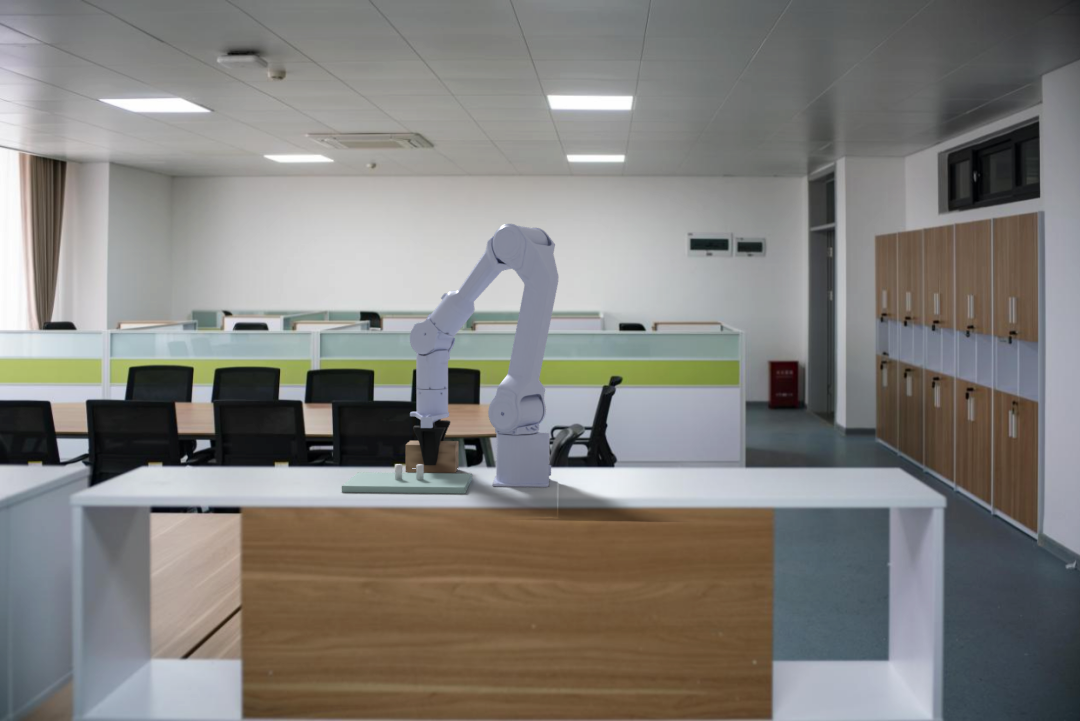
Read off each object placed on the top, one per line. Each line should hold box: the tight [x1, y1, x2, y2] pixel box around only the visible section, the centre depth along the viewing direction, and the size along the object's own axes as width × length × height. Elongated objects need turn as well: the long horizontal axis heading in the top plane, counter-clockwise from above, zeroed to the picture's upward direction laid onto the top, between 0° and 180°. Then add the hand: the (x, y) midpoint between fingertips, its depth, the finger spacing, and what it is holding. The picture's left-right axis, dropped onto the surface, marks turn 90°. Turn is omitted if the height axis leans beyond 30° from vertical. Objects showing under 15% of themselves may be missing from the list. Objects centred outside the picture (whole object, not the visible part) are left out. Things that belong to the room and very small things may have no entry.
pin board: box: [341, 463, 473, 494], centre depth 150 cm, size 20×12×4 cm, turn 89°
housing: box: [405, 440, 459, 473], centre depth 163 cm, size 9×5×5 cm, turn 89°
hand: (432, 462), depth 163 cm, fingers closed on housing, 5 cm apart
